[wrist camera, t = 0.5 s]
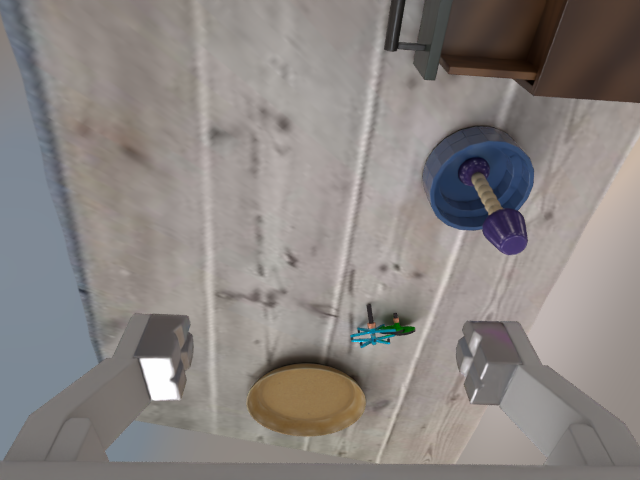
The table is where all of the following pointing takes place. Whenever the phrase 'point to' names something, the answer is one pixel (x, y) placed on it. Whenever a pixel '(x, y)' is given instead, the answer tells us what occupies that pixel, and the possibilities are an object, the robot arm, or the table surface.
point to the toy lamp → (495, 210)
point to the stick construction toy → (381, 330)
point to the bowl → (462, 200)
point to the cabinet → (592, 53)
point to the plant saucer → (306, 400)
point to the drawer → (478, 36)
